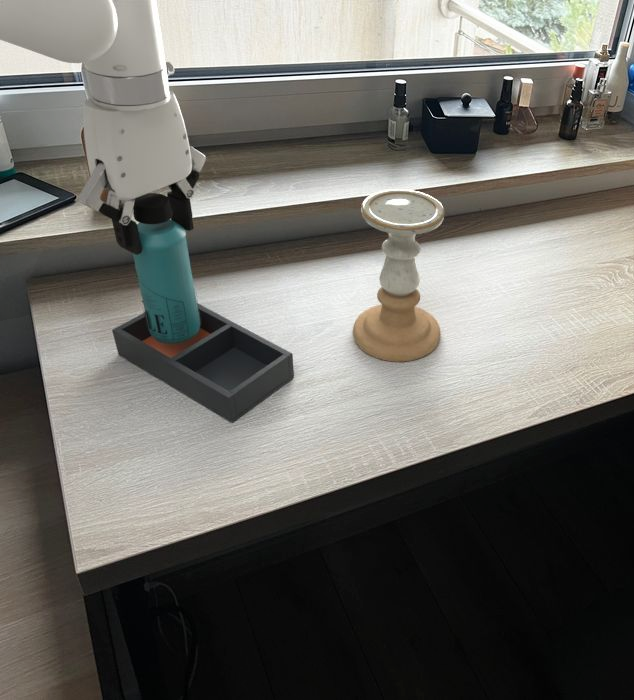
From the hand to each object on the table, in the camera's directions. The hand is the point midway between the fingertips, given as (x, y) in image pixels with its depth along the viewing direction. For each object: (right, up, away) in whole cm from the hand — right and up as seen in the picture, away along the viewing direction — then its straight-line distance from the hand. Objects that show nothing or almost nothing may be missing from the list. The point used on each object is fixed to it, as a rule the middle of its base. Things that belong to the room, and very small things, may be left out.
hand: (157, 236), depth 84 cm
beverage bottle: (-1, -12, +9) cm, 15 cm away
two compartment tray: (+2, -15, +9) cm, 18 cm away
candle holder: (+26, -11, +18) cm, 34 cm away
